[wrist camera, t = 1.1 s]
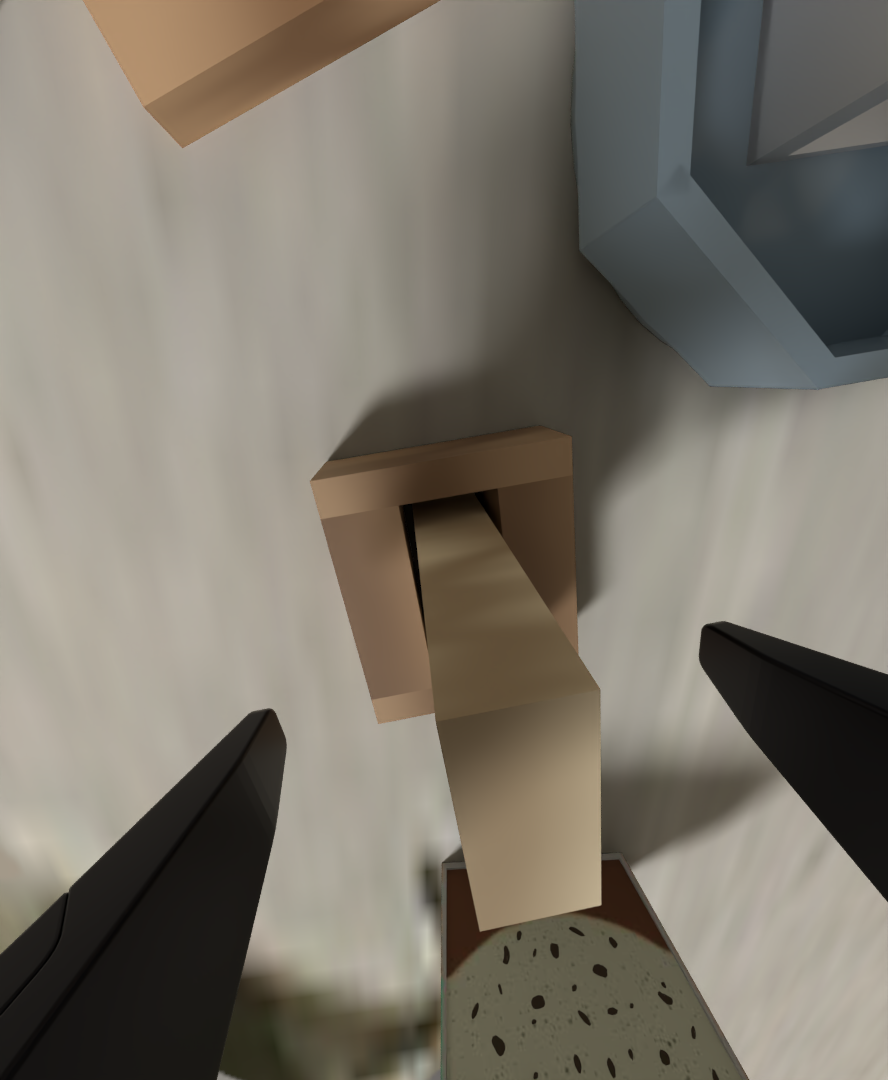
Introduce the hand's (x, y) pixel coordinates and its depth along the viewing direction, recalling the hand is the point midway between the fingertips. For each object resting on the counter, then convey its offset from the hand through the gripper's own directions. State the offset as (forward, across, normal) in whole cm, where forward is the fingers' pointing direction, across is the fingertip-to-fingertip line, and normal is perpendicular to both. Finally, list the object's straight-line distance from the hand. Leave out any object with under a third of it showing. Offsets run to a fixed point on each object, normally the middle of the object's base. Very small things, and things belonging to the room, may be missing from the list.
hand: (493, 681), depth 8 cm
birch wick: (+6, 0, 0) cm, 6 cm away
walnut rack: (+6, 0, 0) cm, 6 cm away
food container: (+6, -1, +20) cm, 21 cm away
